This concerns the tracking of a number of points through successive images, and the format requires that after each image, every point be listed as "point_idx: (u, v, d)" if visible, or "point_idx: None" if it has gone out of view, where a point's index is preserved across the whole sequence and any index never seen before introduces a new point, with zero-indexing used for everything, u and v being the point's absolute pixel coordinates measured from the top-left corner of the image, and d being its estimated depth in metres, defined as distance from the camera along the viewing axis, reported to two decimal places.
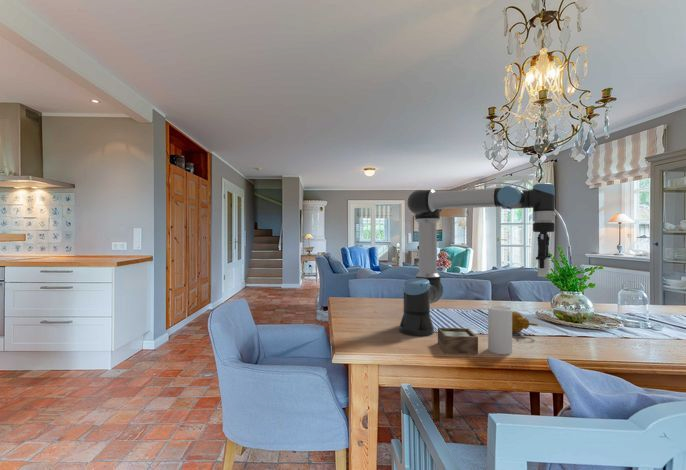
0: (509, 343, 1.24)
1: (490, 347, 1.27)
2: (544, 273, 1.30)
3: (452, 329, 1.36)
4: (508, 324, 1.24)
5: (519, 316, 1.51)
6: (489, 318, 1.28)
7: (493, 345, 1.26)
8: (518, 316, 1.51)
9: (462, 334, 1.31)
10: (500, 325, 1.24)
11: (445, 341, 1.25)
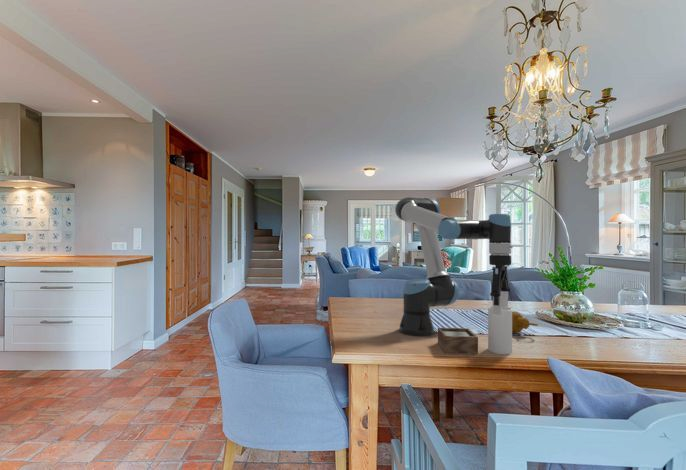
0: (509, 343, 1.24)
1: (490, 347, 1.27)
2: (499, 310, 1.22)
3: (452, 329, 1.36)
4: (508, 324, 1.24)
5: (519, 316, 1.51)
6: (489, 318, 1.28)
7: (493, 345, 1.26)
8: (518, 316, 1.51)
9: (462, 334, 1.31)
10: (500, 325, 1.24)
11: (445, 341, 1.25)
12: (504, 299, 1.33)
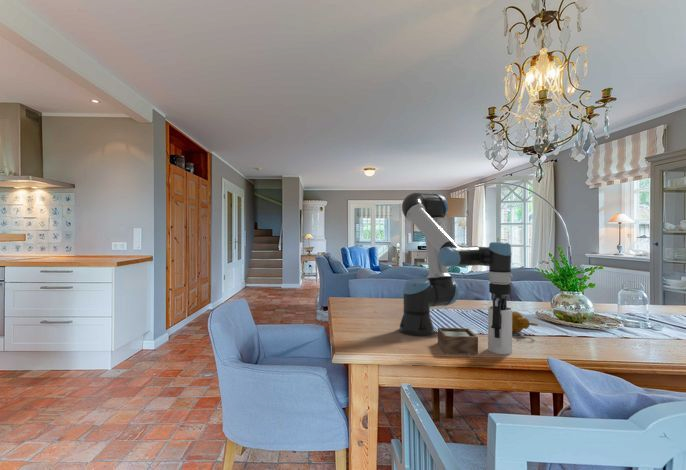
0: (509, 343, 1.24)
1: (490, 347, 1.27)
2: (499, 343, 1.24)
3: (452, 329, 1.36)
4: (508, 324, 1.24)
5: (519, 316, 1.51)
6: (489, 318, 1.28)
7: None
8: (518, 316, 1.51)
9: (462, 334, 1.31)
10: None
11: (445, 341, 1.25)
12: None
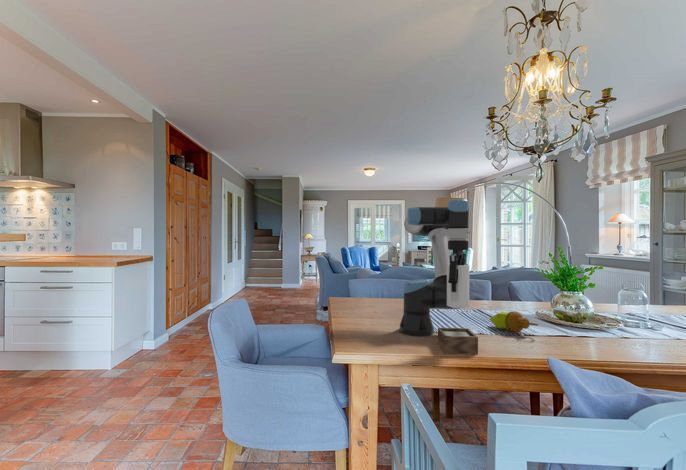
0: (466, 297, 1.27)
1: (448, 302, 1.30)
2: (456, 297, 1.26)
3: (452, 329, 1.36)
4: (465, 279, 1.27)
5: (519, 316, 1.51)
6: (447, 274, 1.30)
7: (451, 300, 1.28)
8: (518, 316, 1.51)
9: (462, 334, 1.31)
10: None
11: (445, 341, 1.25)
12: None
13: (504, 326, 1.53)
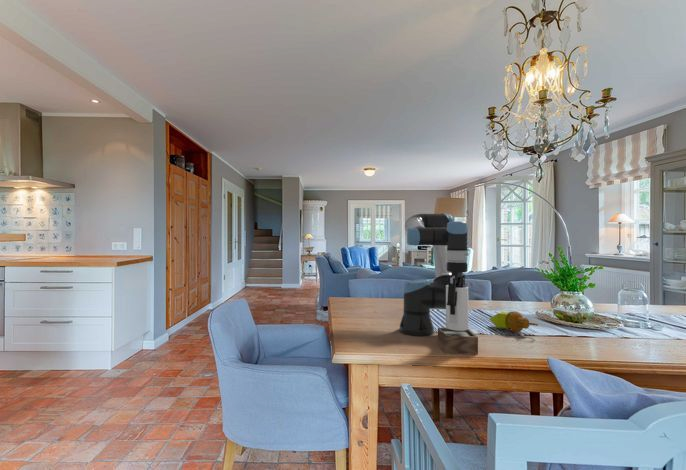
0: (465, 320, 1.27)
1: (447, 324, 1.30)
2: (455, 320, 1.26)
3: None
4: (463, 301, 1.27)
5: (519, 316, 1.51)
6: (446, 296, 1.30)
7: None
8: (518, 316, 1.51)
9: (462, 334, 1.31)
10: None
11: (445, 341, 1.25)
12: None
13: (504, 326, 1.53)
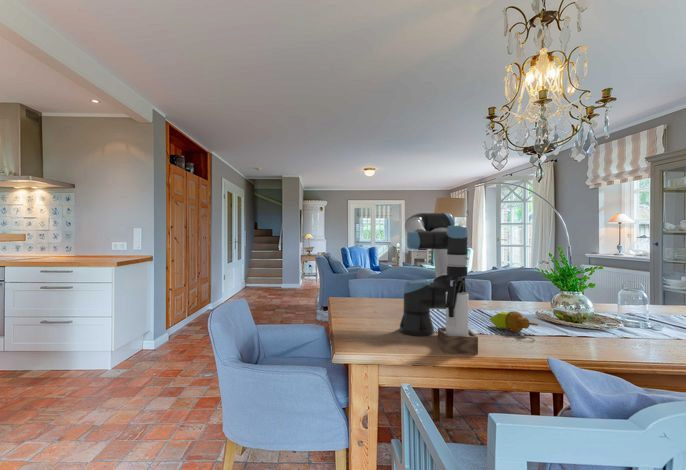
0: (465, 327, 1.27)
1: (447, 331, 1.30)
2: (454, 322, 1.25)
3: None
4: (463, 308, 1.27)
5: (519, 316, 1.51)
6: None
7: (449, 329, 1.28)
8: (518, 316, 1.51)
9: None
10: (456, 309, 1.27)
11: (445, 341, 1.25)
12: None
13: (504, 326, 1.53)
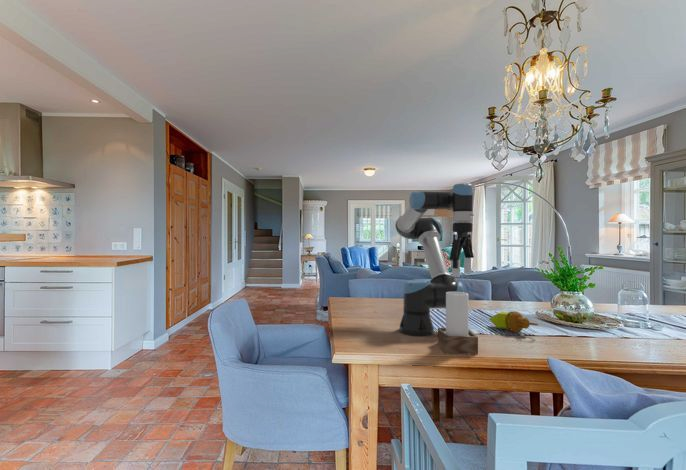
0: (465, 327, 1.27)
1: (447, 331, 1.30)
2: (457, 273, 1.31)
3: None
4: (463, 308, 1.27)
5: (519, 316, 1.51)
6: (446, 303, 1.30)
7: (449, 329, 1.28)
8: (518, 316, 1.51)
9: None
10: (456, 309, 1.27)
11: (445, 341, 1.25)
12: (467, 265, 1.42)
13: (504, 326, 1.53)
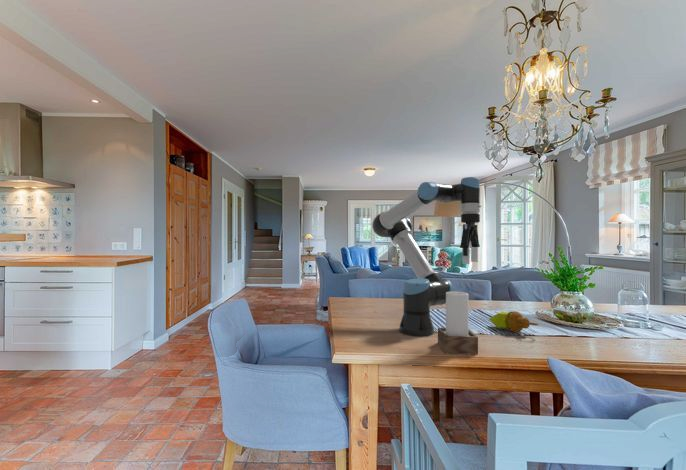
0: (465, 327, 1.27)
1: (447, 331, 1.30)
2: (467, 260, 1.40)
3: None
4: (463, 308, 1.27)
5: (519, 316, 1.51)
6: (446, 303, 1.30)
7: (449, 329, 1.28)
8: (518, 316, 1.51)
9: None
10: (456, 309, 1.27)
11: (445, 341, 1.25)
12: (474, 254, 1.51)
13: (504, 326, 1.54)
